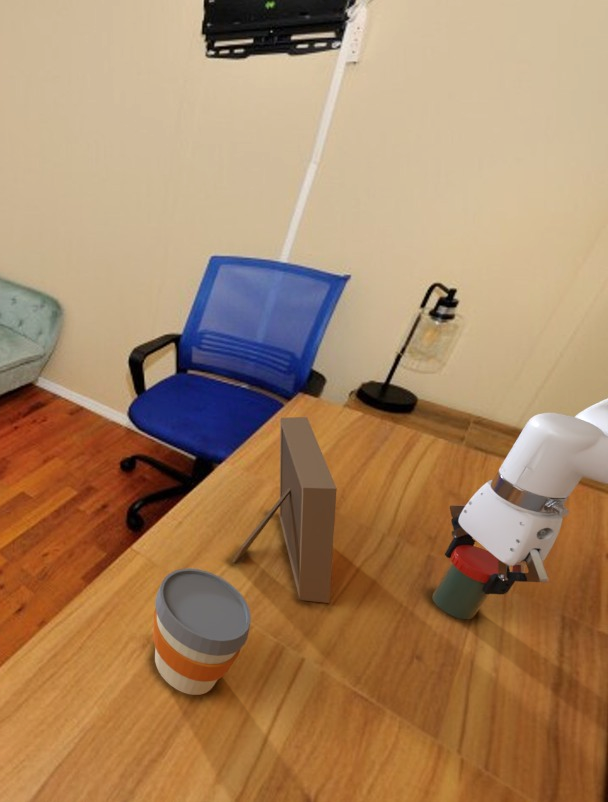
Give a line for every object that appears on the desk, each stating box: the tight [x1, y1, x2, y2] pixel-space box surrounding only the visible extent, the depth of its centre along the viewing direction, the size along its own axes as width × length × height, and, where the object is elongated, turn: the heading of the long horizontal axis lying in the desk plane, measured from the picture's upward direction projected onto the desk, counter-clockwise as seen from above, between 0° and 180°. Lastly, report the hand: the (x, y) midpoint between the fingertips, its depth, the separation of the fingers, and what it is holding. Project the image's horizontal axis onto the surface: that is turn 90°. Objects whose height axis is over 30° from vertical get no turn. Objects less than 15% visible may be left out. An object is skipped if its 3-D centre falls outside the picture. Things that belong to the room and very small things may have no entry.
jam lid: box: [449, 545, 499, 583], centre depth 83 cm, size 7×7×2 cm
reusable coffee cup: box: [152, 567, 252, 696], centre depth 76 cm, size 12×12×15 cm
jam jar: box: [431, 562, 490, 620], centre depth 85 cm, size 6×6×11 cm
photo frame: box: [231, 416, 338, 604], centre depth 93 cm, size 15×22×25 cm
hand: (473, 573), depth 84 cm, fingers closed on jam lid, 6 cm apart
